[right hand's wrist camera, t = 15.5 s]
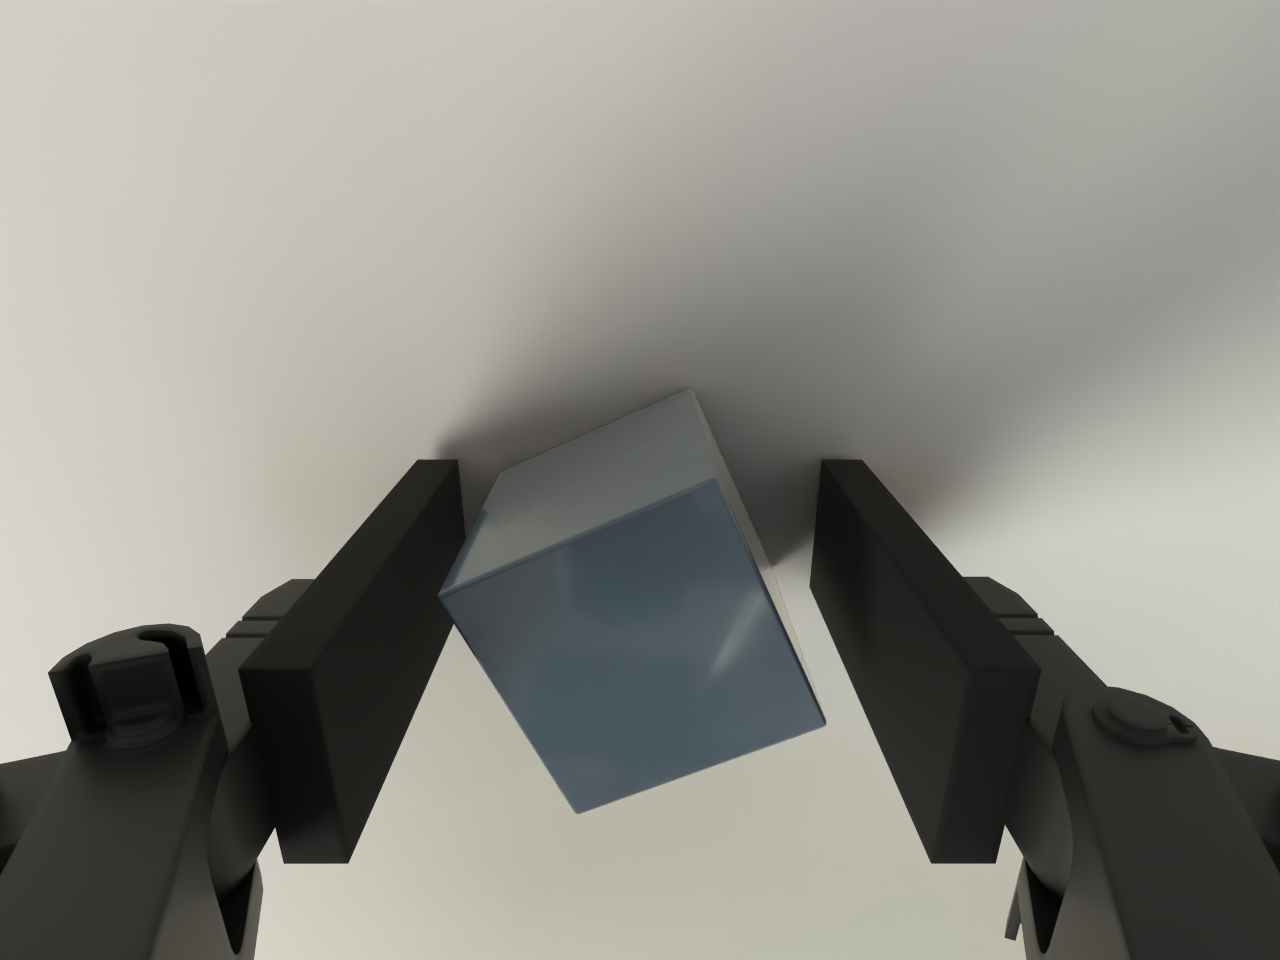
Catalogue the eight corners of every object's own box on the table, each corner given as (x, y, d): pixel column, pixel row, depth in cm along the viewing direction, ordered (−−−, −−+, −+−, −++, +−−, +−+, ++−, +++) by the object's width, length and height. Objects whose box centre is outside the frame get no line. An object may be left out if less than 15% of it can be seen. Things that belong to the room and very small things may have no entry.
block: (772, 569, 15) (828, 727, 10) (593, 640, 15) (575, 817, 11) (691, 385, 13) (717, 477, 9) (498, 471, 14) (433, 596, 10)
